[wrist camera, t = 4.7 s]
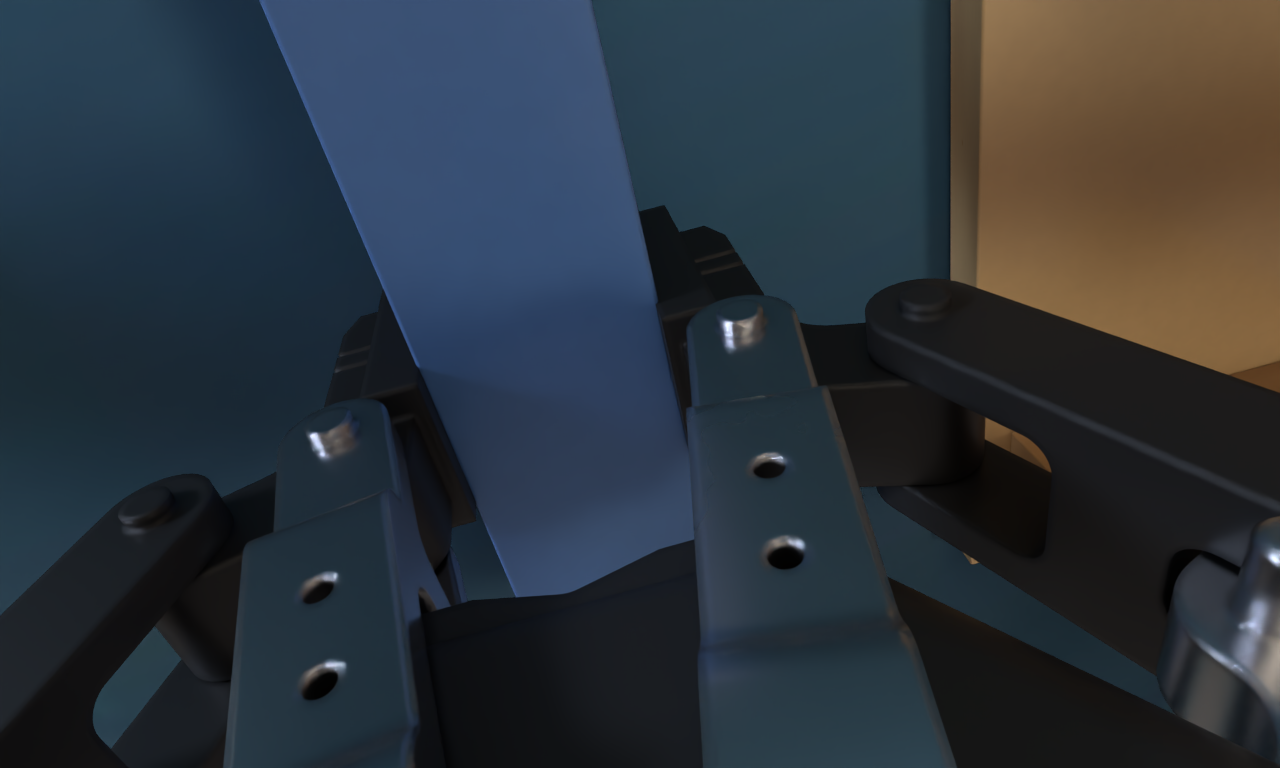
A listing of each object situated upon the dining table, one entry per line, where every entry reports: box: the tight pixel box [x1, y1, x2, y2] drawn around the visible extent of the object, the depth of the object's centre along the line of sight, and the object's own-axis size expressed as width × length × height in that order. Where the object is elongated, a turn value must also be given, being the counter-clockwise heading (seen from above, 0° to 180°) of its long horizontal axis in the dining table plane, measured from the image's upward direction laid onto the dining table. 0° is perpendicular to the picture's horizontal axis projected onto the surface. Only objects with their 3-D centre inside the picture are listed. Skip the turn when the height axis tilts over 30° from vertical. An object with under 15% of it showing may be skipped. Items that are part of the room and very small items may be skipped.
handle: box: [259, 0, 694, 597], centre depth 12 cm, size 17×3×4 cm, turn 12°
